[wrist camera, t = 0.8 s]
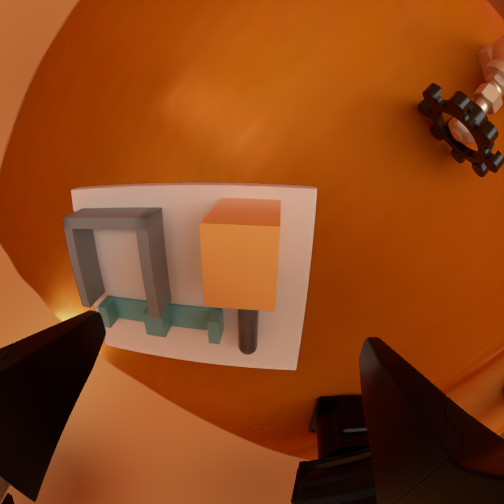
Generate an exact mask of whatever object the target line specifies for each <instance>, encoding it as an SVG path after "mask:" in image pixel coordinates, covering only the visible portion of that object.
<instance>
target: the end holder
mask: <svg viewBox="0 0 504 504" xmlns="http://www.w3.org/2000/svg"><path fill="white" fill-rule="evenodd" d="M63 224H64V230H65V235H66V240H67V245H68V250H69V255H70V259H71V264H72V268H73V272H74V276H75V280H76V284H77V288H78V291H79V295H80V298H81V302H82V305H83V306H85V307H91V306H92V305H93V304H94V303H95V302H96V301H97V300H98V299H99V298H100V297H101V296H102V295H103V294H104V293H105V288H104V284H103V280H102V275H101V271H100V266H99V261H98V256H97V250H96V245H95V239H94V233H93V229H103V230H136V235H137V243H138V251H139V258H140V264H141V271H142V277H143V283H144V289H145V294H146V300H147V305H148V310H149V315H150V317H151V318H158V319H160V318H161V317H162V315H163V313H164V312H165V310H166V308H167V307H168V305H169V304H170V302H171V300H172V299H171V292H170V284H169V276H168V268H167V259H166V250H165V240H164V229H163V216H162V207H127V208H82V209H80V210H78V211H76V212H74V213H71V214H69V215H67V216H65V217H63Z"/></svg>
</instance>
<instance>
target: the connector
mask: <svg viewBox="0 0 504 504" xmlns="http://www.w3.org/2000/svg"><path fill="white" fill-rule="evenodd" d="M280 213H281V200H275V199H251V198H222V199H221V200H220V201H219V202H218V204H217V205H216V206H215V207H214V208H213V209H212V210H211V211H210V212H209V213H208V214H207V215H206V217H205V218H204V219H203V220H202V221H201V222H200V223H199V226H200V246H201V264H202V279H203V293H204V306H208V307H220V308H232V309H238V347H239V350H240V351H241V352H242V353H243V354H246V355H250V354H252V353H254V352H255V351H256V349H257V339H258V310H260V311H275V306H276V291H277V276H278V259H279V240H280Z"/></svg>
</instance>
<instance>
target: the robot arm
mask: <svg viewBox="0 0 504 504" xmlns="http://www.w3.org/2000/svg"><path fill="white" fill-rule="evenodd" d="M105 336H106V329H105V326H104V322H103V319H102V316H101V314H100V313H99V312H97V311H92V310H89V311H87V312H85V313H82V314H80V315H77V316H75V317H73V318H70V319H68V320H66V321H63V322H61V323H59V324H57V325H54V326H52V327H49V328H47V329H45V330H42V331H40V332H38V333H35V334H33V335H31V336H29V337H27V338H24V339H22V340H20V341H17V342H15V343H12V344H10V345H8V346H5V347H3V348H1V349H0V504H14V502H13V498H12V495H10V494H9V493H8V490H9V489H10V487H11V485H12V486H13V487H14V488H15V489H17V490H18V491H20V492H21V493H22V494H24V495H25V496H26V497H28V498H29V499H31V500H32V501H34V502H35V501H36V499H37V497H38V494H39V491H40V488H41V485H42V482H43V480H44V477H45V474H46V471H47V469H48V466H49V464H50V461H51V458H52V456H53V453H54V451H55V448H56V446H57V443H58V441H59V439H60V436H61V434H62V432H63V430H64V427H65V425H66V423H67V421H68V418H69V416H70V414H71V412H72V410H73V408H74V405H75V403H76V401H77V399H78V397H79V395H80V393H81V391H82V389H83V387H84V385H85V383H86V381H87V379H88V377H89V375H90V373H91V371H92V368H93V366H94V364H95V361H96V359H97V356H98V354H99V351H100V349H101V346H102V344H103V341H104V339H105ZM359 368H360V380H361V393H362V396H350V397H321V398H319V399H318V400H317V403H316V406H315V409H314V413H313V416H312V419H311V423H310V426H309V432H311V433H317V444H318V459H316V460H311V461H302V462H299V468H298V469H297V474H296V480H295V485H294V489H293V495H292V499H291V503H292V504H504V439H503V438H501V437H500V436H498V435H497V434H496V433H494V432H493V431H491V430H490V429H488V428H487V427H486V426H484V425H483V424H481V423H480V422H479V421H477V420H476V419H475V418H473V417H472V416H471V415H469V414H468V413H467V412H465V411H464V410H463V409H462V408H460V407H459V406H458V405H457V404H456V403H454V402H453V401H452V400H451V399H450V398H449V397H446V395H445V394H444V393H443V392H442V391H441V390H439V389H438V388H437V387H436V386H435V385H434V384H433V383H431V382H430V381H429V380H428V379H427V378H426V377H424V376H423V375H422V374H421V373H420V372H419V371H417V370H416V369H415V368H414V367H413V366H412V365H410V364H409V363H408V362H407V361H406V360H405V359H403V358H402V357H401V356H400V355H399V354H398V353H396V352H395V351H394V350H393V349H392V348H390V347H389V346H388V345H387V344H386V343H385V342H383V341H382V340H381V339H380V338H378V337H368V338H366V339H365V341H364V345H363V348H362V351H361V354H360V357H359Z"/></svg>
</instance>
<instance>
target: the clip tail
mask: <svg viewBox="0 0 504 504" xmlns="http://www.w3.org/2000/svg"><path fill="white" fill-rule="evenodd" d="M97 307H98V310H99V313H100V314H101V316H102V319H103V322H104V326H105V327H108V328H111V327H112V326H113V325H114V324H115V322H116V321H117V320H118V319H119V318H122V319H128V320H134V321H140V322H144V324H145V329H146V333H147V335H152V336H156V333H155V329H154V324H153V319H152V318H151V317H150V315H149V310H148V305H147V300H139V299H131V298H124V297H117V296H110V295H108V296H107V297H106V298H105V299H104V300H103V301H102V302H101V303H100V304H99V305H98V306H97Z"/></svg>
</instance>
